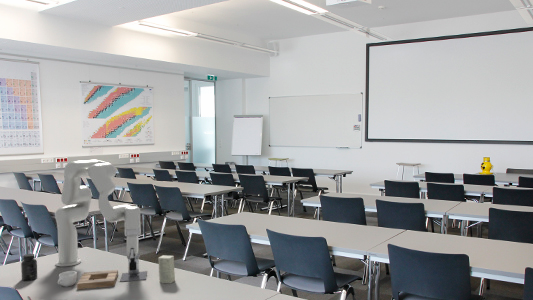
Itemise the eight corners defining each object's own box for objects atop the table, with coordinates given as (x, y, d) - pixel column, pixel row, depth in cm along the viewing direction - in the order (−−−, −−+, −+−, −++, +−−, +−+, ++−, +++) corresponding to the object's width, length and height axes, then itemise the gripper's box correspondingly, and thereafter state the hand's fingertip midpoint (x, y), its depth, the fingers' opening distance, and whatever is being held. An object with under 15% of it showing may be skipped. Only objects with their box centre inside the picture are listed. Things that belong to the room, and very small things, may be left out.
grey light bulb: (128, 272, 213) (127, 253, 213) (140, 271, 214) (140, 252, 214) (126, 276, 207) (126, 257, 207) (139, 275, 208) (139, 256, 208)
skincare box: (175, 280, 205) (174, 255, 204) (170, 283, 201) (170, 258, 200) (163, 279, 207) (162, 254, 206) (158, 282, 202) (158, 257, 202)
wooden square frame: (84, 277, 210) (83, 272, 210) (118, 274, 214) (118, 269, 214) (77, 289, 195) (77, 283, 195) (114, 286, 198) (113, 280, 198)
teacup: (67, 281, 206) (67, 270, 206) (80, 282, 203) (80, 271, 203) (51, 288, 196) (51, 277, 196) (64, 290, 194) (64, 278, 194)
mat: (122, 273, 215) (122, 273, 215) (147, 271, 218) (147, 271, 218) (119, 282, 204) (119, 281, 204) (145, 279, 206) (145, 279, 206)
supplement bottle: (19, 279, 209) (18, 255, 209) (34, 275, 214) (33, 252, 214) (24, 282, 205) (23, 257, 204) (39, 278, 210) (38, 254, 209)
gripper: (126, 228, 217) (127, 263, 218) (122, 236, 201) (123, 274, 201) (141, 227, 219) (142, 262, 220) (139, 235, 202) (140, 273, 203)
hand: (133, 267), depth 211 cm, fingers open, 5 cm apart
